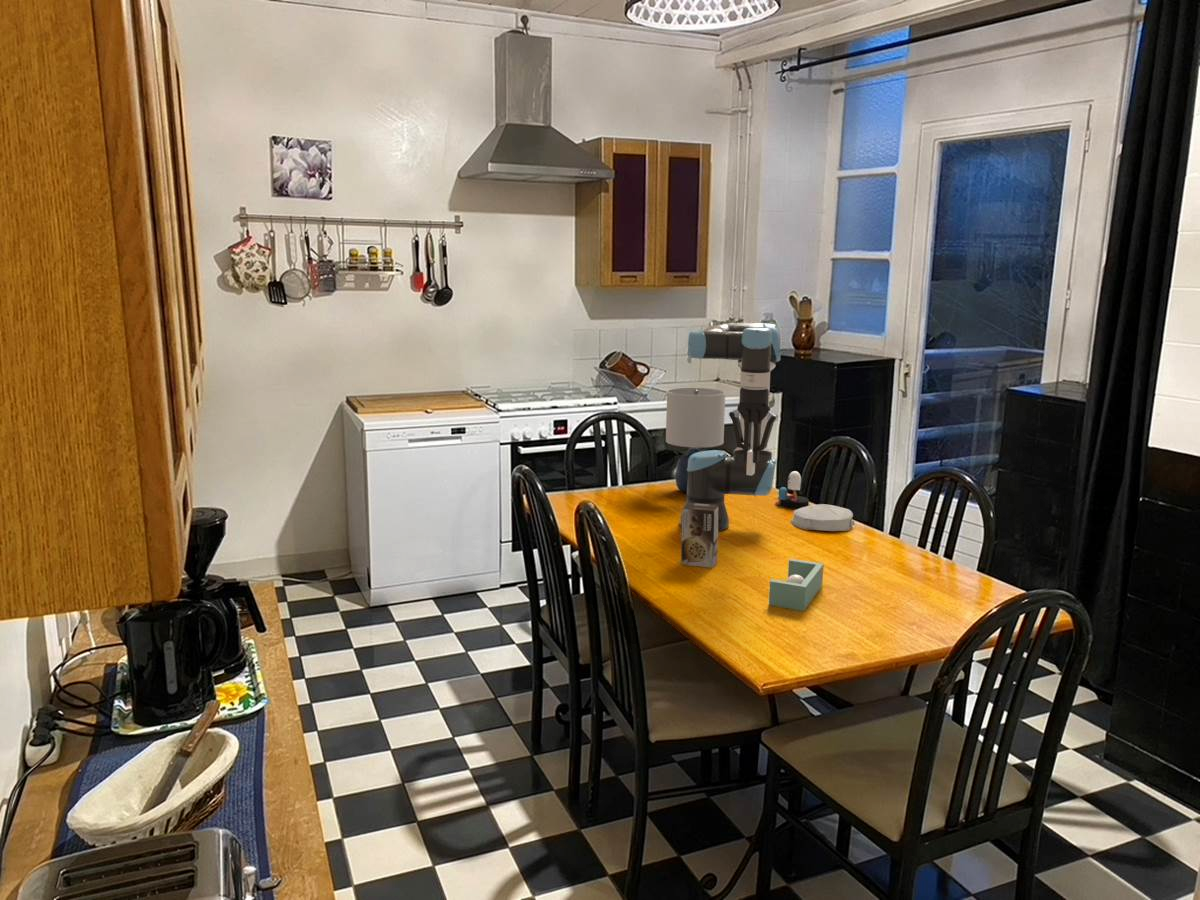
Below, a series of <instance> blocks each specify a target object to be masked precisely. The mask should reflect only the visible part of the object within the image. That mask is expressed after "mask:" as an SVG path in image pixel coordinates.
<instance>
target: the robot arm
mask: <svg viewBox="0 0 1200 900" xmlns="http://www.w3.org/2000/svg"><path fill="white" fill-rule="evenodd" d="M687 341H688V342H687V349H688V350H687V354H688V356H689V358H692V359H698V360H702V359H704V360H705V359H710V360H718V359H719V360H728V361H729V360H730V361H731V360H732V361H737V366H738V368H739V369H740V381H739V383H740V384H739V385H740V386H741V388H739V402H738V406H737V408H736V409H735V410H732V411H730V412H729V413H728V416H729V417H730V419H731V420H732V425H733V431H734V436H735V437H734V438H735V441H736V446H737V447H736V448H735V449H734V450H733V455H732V456H729V455H728V454H727V452H726V451H725V450H719V449H718V450H717V449H711V450H703V451H701V452H697V453H694V454H692V455H691V456H690V457H689V460H688V468H687V471H688V479H687V493H686V500H685V504H684V506H685V505H686V504H687V503H688V502H689V503H702V504H713V505H719V524H718V532H720V531H721V532H722V531H725V530H727V529H729V528H730V517H729V514H728V511H727V507H726V504H725V495H736V496H737V495H738V496H739V495H740V496H754V497H758V496H759V497H761V496H764V497H765V496H768V495H770V494H771V490H772V488H773V487H772V486H773V481H774V476H775V469H776V464H777V459H776V458H774V457H772V456H773V452H772V451H771V450H770V449H769V447H768V444H769V440H770V436H771V433H772V430H773V426H774V423H775V422H776V420H777V419H778V414H775V413H773V412H772V411H771V409H770V405H769V404H770V389H771V371H773V370H774V369H775V368H776V365H777V364H776V363H778V362H780V361H781V358H782V357H781V340H780V333H779V329H778V326H777V325H776V324H774V323H773V324H772V323H766V322H760V323H759V322H758V323H757V322H754V323H753V322H723V323H718V324H714V325H711V326H708V327H706V328H705V329H703V330H691V331H690V332H689V334H688V340H687ZM727 455H728V456H727ZM679 523H680V526H681V527H682V514H680V522H679Z"/></svg>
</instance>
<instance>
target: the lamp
mask: <svg viewBox="0 0 1200 900" xmlns="http://www.w3.org/2000/svg"><path fill="white" fill-rule="evenodd" d="M725 411H726V391H725V390H721V389H716V388H707V387H676V388H670V389H667V390H666V417H665V420H666V422H665V442H666V443H667V444H669V445H672V446H676V447H684V448H688V450H687V452H686V453H684V454H682V455H681V456H680V457H679V458H678V461H677V464H676V469H675V485H676V487H677V489H679V491H680V492H682V493H684V494H687V479H688V471H687V468H688V460H689V457H690V456H691V455H692V454H694V453H697V452H702V451H701V449H702V448H715V447H719V446H722V445H723V444H724V443H725V441H724V436H725V435H724V434H725V418H726V417H725V416H726V415H725V414H726V413H725Z"/></svg>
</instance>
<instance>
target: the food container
mask: <svg viewBox="0 0 1200 900" xmlns="http://www.w3.org/2000/svg"><path fill="white" fill-rule="evenodd" d="M853 516H854V514H853V512H852V511H851V510H850V509H849V508H845V507H842V506H841V507H840V506H838V505H832V504H827V503H826V504H824V503H818V504H812V505H810V504H809V506H807V507H802V508H800V509H794V510H793V518H792V520H790V522H791V523H792V525H793V526H794V527H797V528H800V529H802V530H805V531H807V530H812V531H813V530H815V531H822V532H823V531H824V532H825V531H827V532H847V531H850V530H851V529H852V528H854V527H856V523H855V521H854V520H853Z"/></svg>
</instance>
